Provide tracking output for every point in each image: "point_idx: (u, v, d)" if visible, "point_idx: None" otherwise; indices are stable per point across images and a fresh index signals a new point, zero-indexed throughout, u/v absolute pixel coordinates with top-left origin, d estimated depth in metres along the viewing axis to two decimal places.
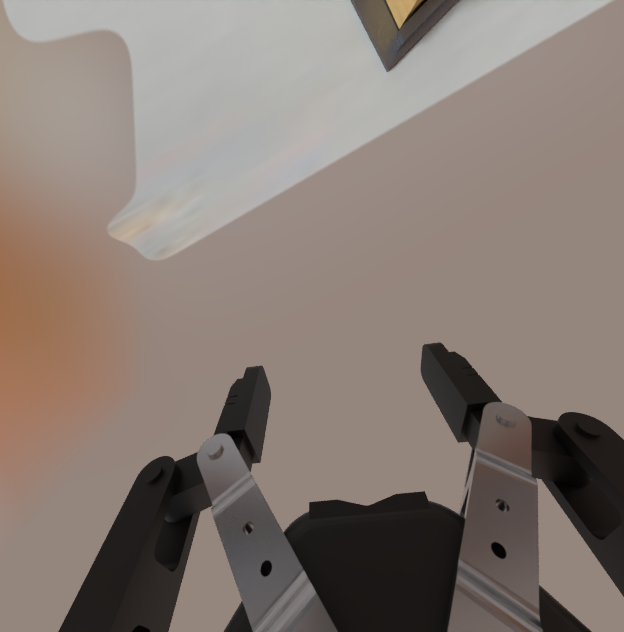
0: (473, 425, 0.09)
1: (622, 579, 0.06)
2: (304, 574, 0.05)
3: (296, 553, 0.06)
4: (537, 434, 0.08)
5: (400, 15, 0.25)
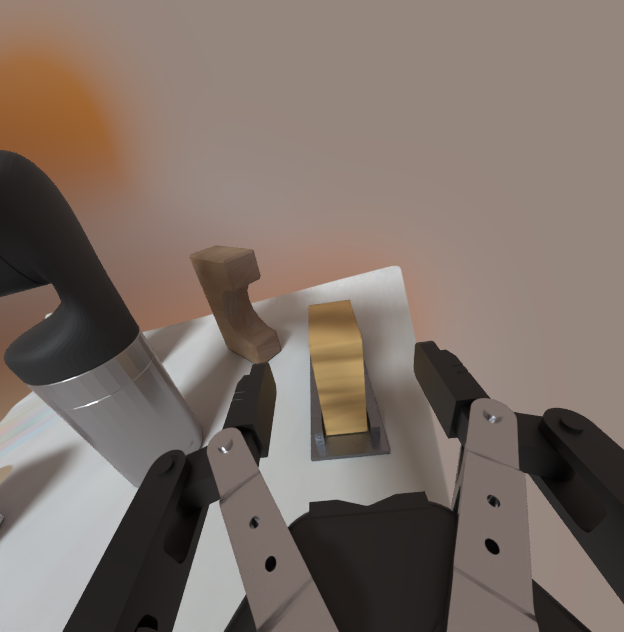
0: (462, 421, 0.09)
1: (609, 570, 0.06)
2: (308, 573, 0.05)
3: (300, 551, 0.06)
4: (523, 429, 0.08)
5: (361, 425, 0.29)
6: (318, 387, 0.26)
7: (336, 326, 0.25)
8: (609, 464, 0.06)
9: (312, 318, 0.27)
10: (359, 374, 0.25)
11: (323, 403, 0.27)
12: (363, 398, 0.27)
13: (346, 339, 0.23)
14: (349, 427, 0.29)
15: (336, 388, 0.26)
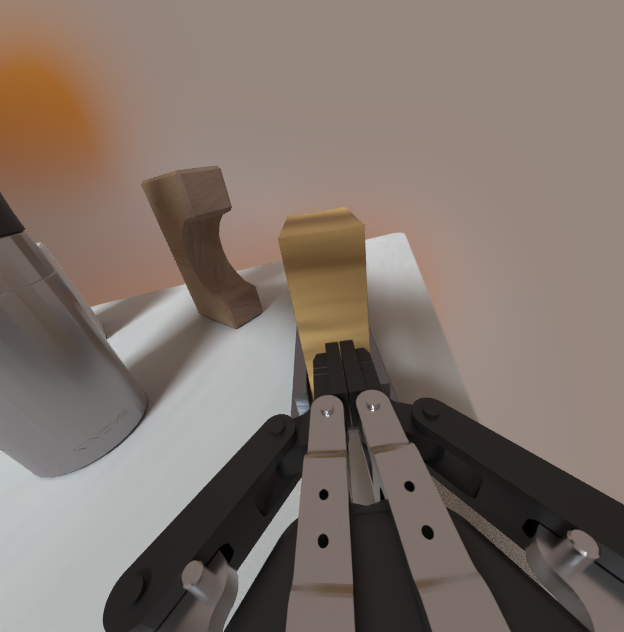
0: (356, 410, 0.10)
1: (497, 521, 0.07)
2: (351, 581, 0.05)
3: (354, 552, 0.06)
4: (398, 416, 0.09)
5: None
6: (297, 319, 0.17)
7: (325, 222, 0.16)
8: (465, 435, 0.07)
9: (290, 222, 0.18)
10: (359, 295, 0.16)
11: (306, 348, 0.18)
12: (366, 339, 0.18)
13: (339, 228, 0.14)
14: None
15: (324, 321, 0.17)
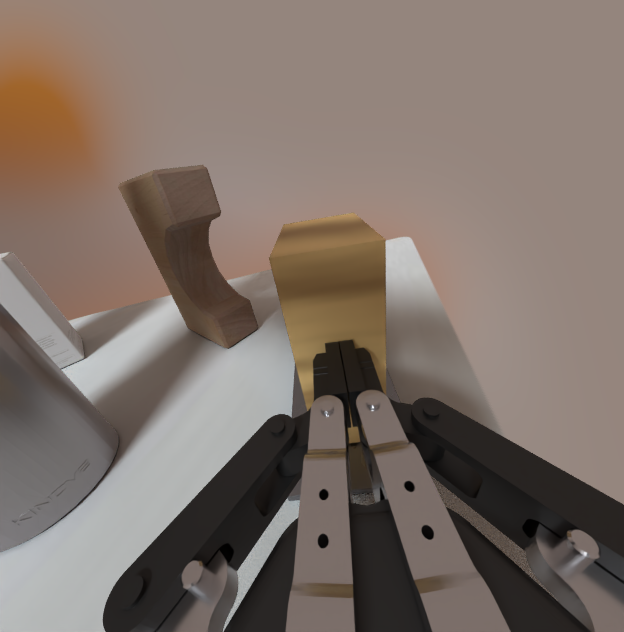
0: (356, 410, 0.10)
1: (498, 521, 0.07)
2: (351, 581, 0.05)
3: (353, 552, 0.06)
4: (398, 416, 0.09)
5: None
6: (296, 356, 0.13)
7: (330, 234, 0.13)
8: (465, 435, 0.07)
9: (287, 232, 0.15)
10: (376, 328, 0.13)
11: (307, 389, 0.15)
12: (382, 378, 0.14)
13: (351, 243, 0.11)
14: (355, 433, 0.17)
15: None
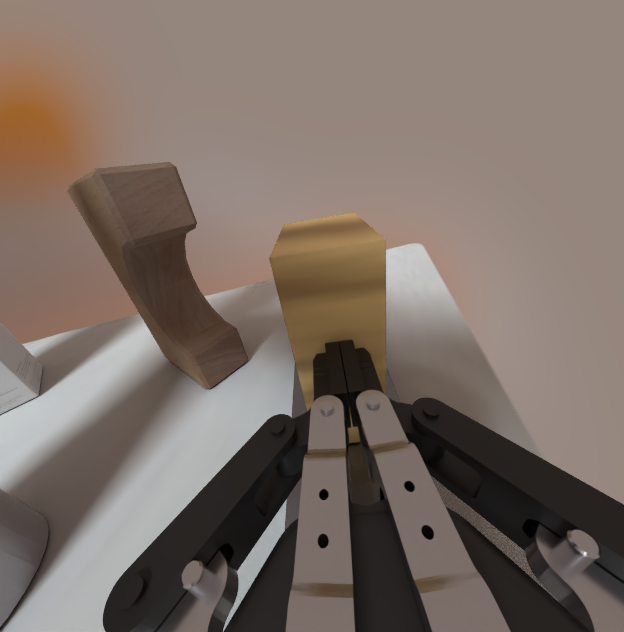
0: (356, 410, 0.10)
1: (498, 521, 0.07)
2: (351, 581, 0.05)
3: (354, 552, 0.06)
4: (398, 416, 0.09)
5: None
6: (296, 356, 0.13)
7: (330, 234, 0.13)
8: (465, 435, 0.07)
9: (287, 232, 0.15)
10: (376, 328, 0.13)
11: (307, 389, 0.15)
12: (382, 379, 0.14)
13: (352, 243, 0.11)
14: (355, 432, 0.17)
15: None
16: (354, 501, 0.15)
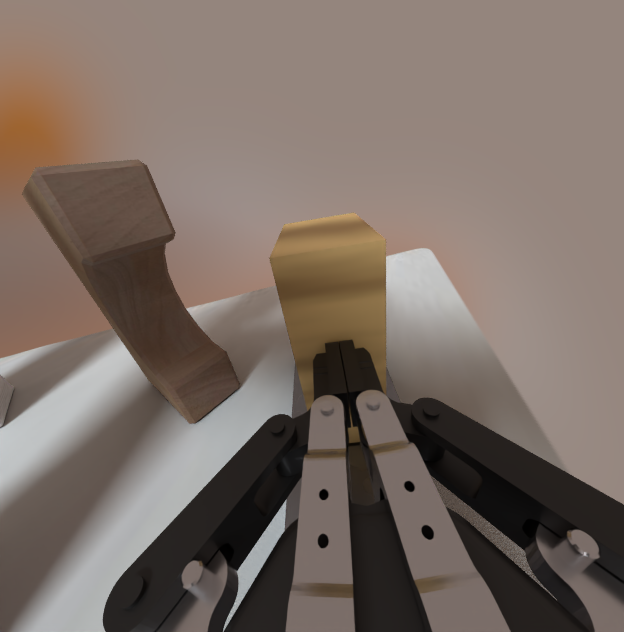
0: (356, 410, 0.10)
1: (498, 521, 0.07)
2: (351, 581, 0.05)
3: (354, 553, 0.06)
4: (397, 416, 0.09)
5: None
6: (296, 356, 0.13)
7: (331, 234, 0.13)
8: (465, 435, 0.07)
9: (287, 232, 0.15)
10: (376, 328, 0.13)
11: (307, 389, 0.15)
12: (382, 379, 0.14)
13: (352, 243, 0.11)
14: (355, 432, 0.17)
15: None
16: None
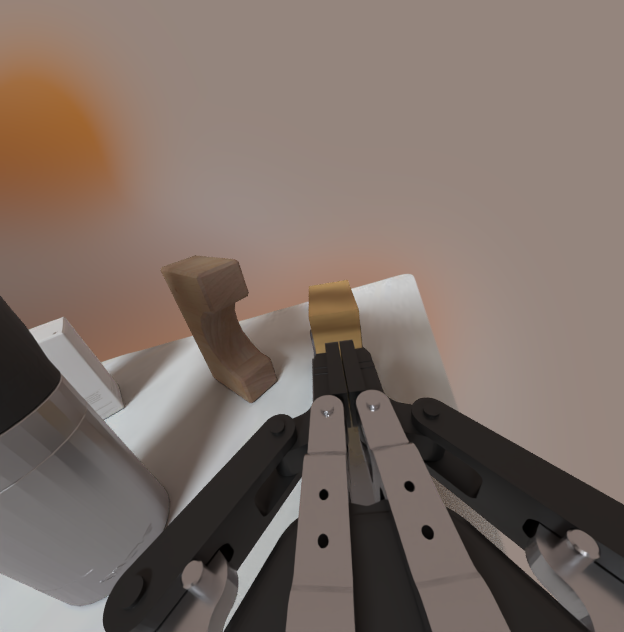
0: (356, 410, 0.10)
1: (497, 521, 0.07)
2: (351, 581, 0.05)
3: (354, 553, 0.06)
4: (398, 416, 0.09)
5: None
6: None
7: (335, 300, 0.27)
8: (465, 435, 0.07)
9: (312, 295, 0.29)
10: (357, 345, 0.26)
11: None
12: None
13: (344, 310, 0.24)
14: None
15: None
16: (354, 473, 0.24)
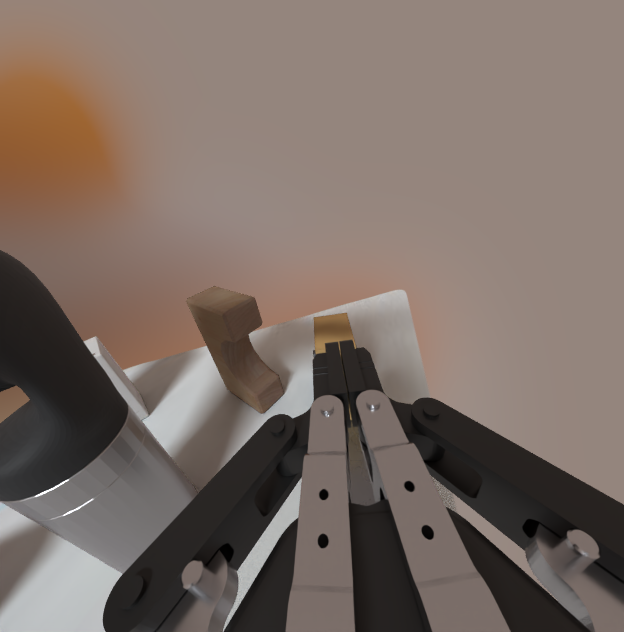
0: (356, 410, 0.10)
1: (498, 521, 0.07)
2: (351, 581, 0.05)
3: (354, 553, 0.06)
4: (398, 416, 0.09)
5: None
6: None
7: (336, 335, 0.32)
8: (465, 435, 0.07)
9: (317, 328, 0.34)
10: None
11: None
12: None
13: None
14: None
15: None
16: None
